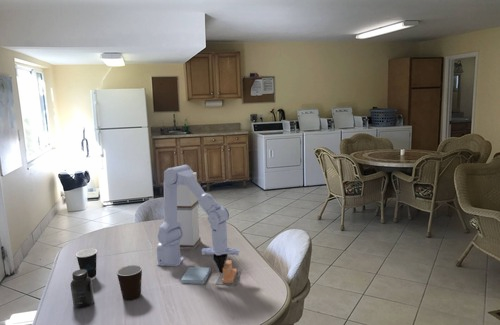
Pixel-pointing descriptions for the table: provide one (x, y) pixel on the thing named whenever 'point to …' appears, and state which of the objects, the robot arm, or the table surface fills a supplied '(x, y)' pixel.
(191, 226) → the tall white rectangular box
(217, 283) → the pad
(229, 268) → the stub
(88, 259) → the dixie cup
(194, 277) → the light blue notched panel
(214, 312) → the table surface
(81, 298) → the supplement bottle
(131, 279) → the coffee mug
